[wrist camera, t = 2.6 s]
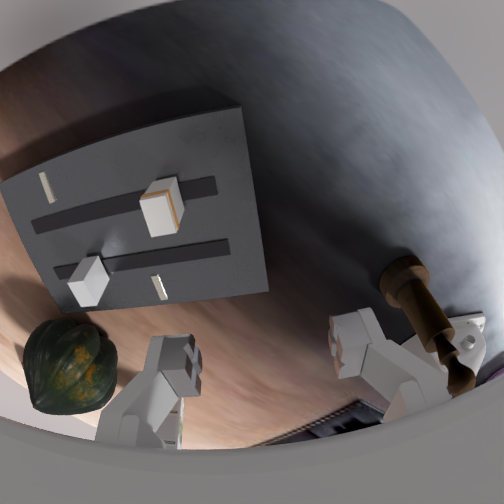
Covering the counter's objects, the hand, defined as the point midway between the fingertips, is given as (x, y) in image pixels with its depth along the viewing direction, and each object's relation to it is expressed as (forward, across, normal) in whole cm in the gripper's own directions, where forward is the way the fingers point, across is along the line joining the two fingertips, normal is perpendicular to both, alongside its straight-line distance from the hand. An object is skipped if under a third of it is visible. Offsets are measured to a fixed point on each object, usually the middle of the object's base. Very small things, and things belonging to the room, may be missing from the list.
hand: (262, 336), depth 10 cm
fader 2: (+16, +7, 0) cm, 17 cm away
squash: (+19, +28, +20) cm, 40 cm away
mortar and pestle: (+19, -18, +16) cm, 31 cm away
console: (+19, +12, +3) cm, 23 cm away
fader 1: (+16, +16, +6) cm, 24 cm away
